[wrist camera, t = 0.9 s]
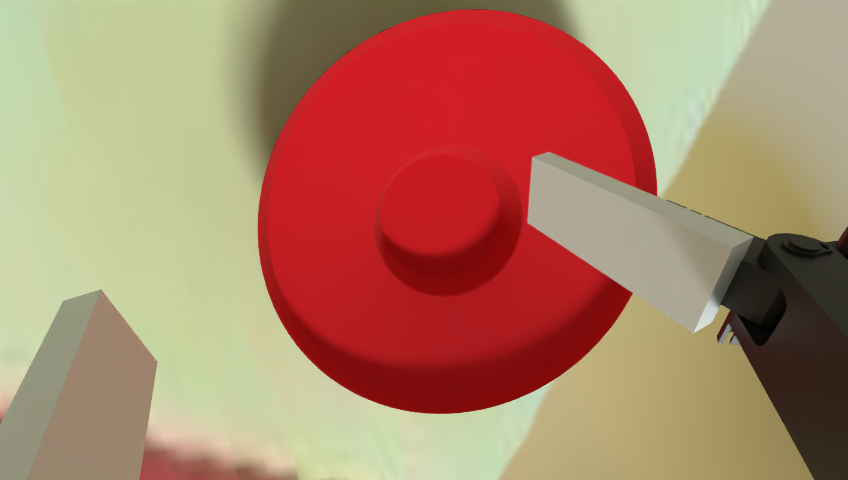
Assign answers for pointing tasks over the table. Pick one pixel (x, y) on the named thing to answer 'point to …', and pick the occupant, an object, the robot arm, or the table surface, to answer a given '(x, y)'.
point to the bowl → (444, 211)
